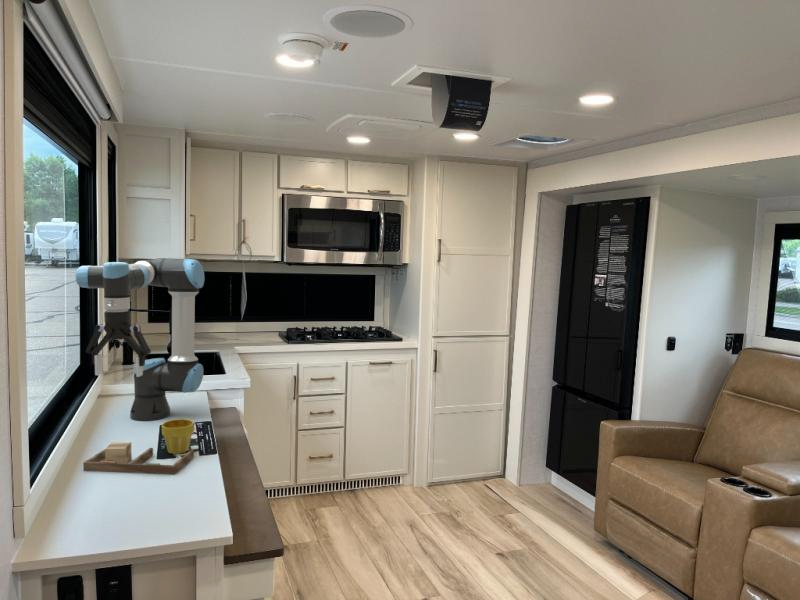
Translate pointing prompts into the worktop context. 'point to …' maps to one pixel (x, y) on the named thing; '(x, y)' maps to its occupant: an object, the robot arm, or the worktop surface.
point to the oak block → (118, 452)
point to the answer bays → (135, 464)
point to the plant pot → (178, 435)
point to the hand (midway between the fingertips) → (119, 375)
